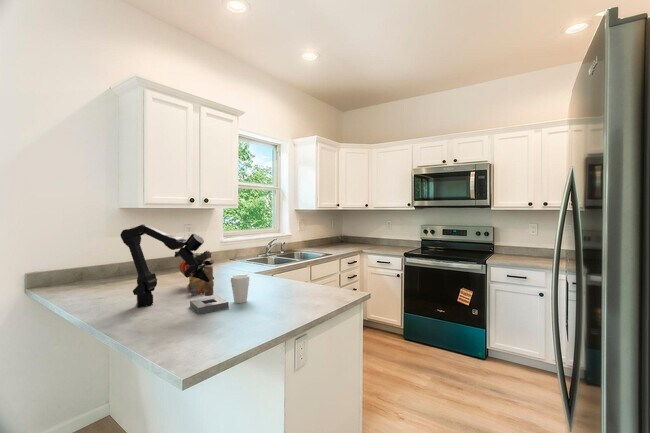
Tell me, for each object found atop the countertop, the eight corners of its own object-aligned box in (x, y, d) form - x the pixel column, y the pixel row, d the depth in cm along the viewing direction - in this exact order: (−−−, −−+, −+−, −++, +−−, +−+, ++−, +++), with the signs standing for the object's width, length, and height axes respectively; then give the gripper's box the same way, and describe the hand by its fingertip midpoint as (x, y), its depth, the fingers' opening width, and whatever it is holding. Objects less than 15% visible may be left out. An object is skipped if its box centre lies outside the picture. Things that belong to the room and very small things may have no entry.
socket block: (198, 314, 143) (198, 307, 143) (190, 306, 154) (189, 300, 154) (228, 308, 151) (228, 301, 151) (218, 301, 162) (218, 295, 162)
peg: (204, 296, 150) (203, 267, 149) (204, 294, 154) (204, 265, 153) (212, 295, 151) (212, 266, 151) (213, 293, 155) (213, 265, 154)
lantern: (215, 284, 198) (214, 237, 197) (191, 291, 184) (189, 239, 183) (198, 281, 207) (197, 236, 206) (173, 287, 193) (172, 238, 192)
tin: (189, 296, 172) (189, 281, 172) (186, 295, 174) (186, 280, 174) (214, 290, 184) (213, 276, 184) (211, 289, 186) (210, 275, 186)
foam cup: (244, 304, 157) (244, 278, 156) (227, 303, 159) (227, 278, 158) (252, 299, 166) (252, 274, 166) (236, 298, 168) (236, 274, 168)
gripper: (189, 248, 143) (212, 273, 142) (210, 243, 161) (230, 265, 160) (173, 265, 144) (196, 289, 143) (196, 258, 163) (216, 280, 162)
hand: (211, 280), depth 152 cm, fingers closed on peg, 4 cm apart
